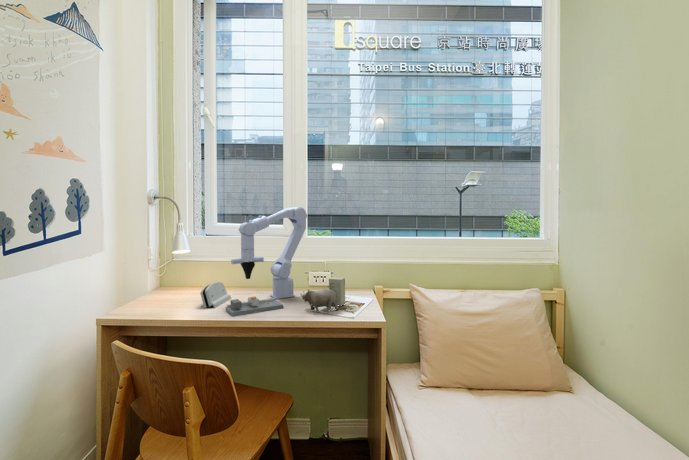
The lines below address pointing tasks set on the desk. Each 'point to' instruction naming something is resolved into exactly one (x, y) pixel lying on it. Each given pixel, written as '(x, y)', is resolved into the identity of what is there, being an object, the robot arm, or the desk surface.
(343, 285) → the skincare box
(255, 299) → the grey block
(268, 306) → the hole board
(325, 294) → the grey four-legged figurine
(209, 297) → the grey upright panel
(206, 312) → the desk surface
